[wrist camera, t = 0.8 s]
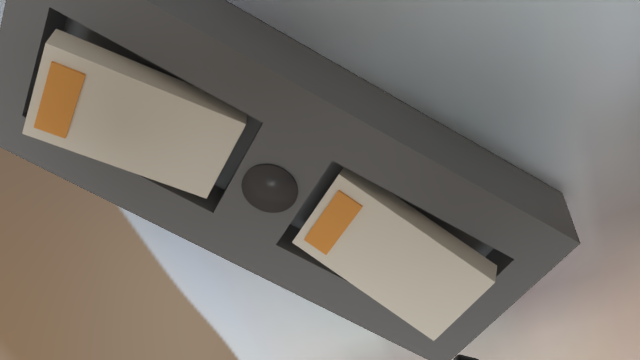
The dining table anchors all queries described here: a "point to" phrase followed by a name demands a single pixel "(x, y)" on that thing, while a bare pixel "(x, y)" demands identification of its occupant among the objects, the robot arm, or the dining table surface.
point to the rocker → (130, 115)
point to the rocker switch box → (291, 156)
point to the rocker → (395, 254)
